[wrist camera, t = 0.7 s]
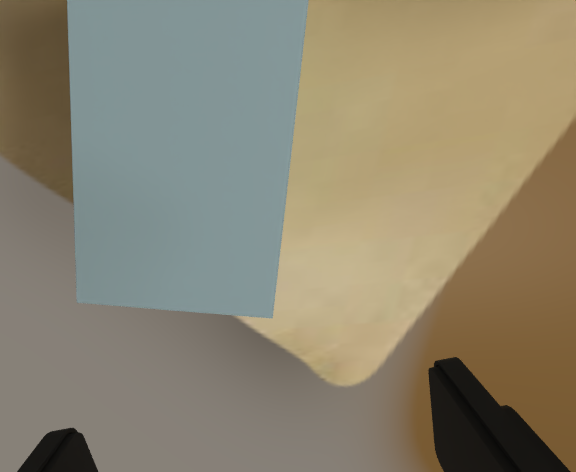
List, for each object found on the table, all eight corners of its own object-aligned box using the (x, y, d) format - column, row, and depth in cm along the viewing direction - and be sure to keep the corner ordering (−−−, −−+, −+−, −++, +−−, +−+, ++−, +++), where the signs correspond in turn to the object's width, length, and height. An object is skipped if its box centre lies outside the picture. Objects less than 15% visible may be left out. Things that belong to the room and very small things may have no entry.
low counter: (167, -19, 32) (61, -190, 16) (297, 0, 33) (324, -142, 17) (160, 234, 38) (76, 302, 22) (271, 245, 39) (272, 318, 22)
